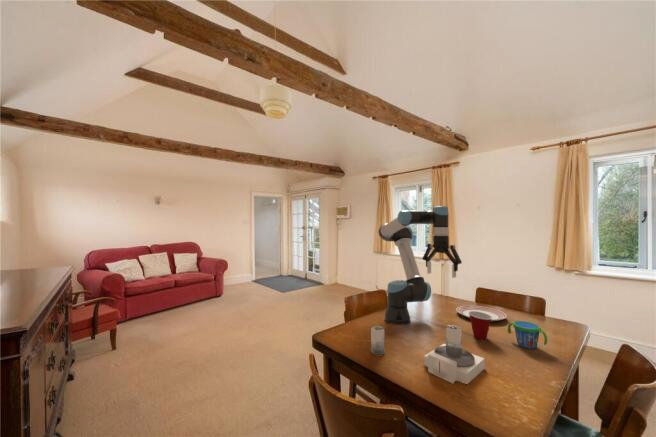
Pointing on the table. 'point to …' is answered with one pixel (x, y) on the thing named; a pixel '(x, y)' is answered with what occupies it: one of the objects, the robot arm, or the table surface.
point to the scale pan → (464, 361)
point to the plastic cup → (480, 324)
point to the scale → (452, 368)
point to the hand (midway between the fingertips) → (441, 275)
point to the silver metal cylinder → (453, 341)
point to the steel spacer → (377, 340)
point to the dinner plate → (494, 313)
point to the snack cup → (527, 334)
